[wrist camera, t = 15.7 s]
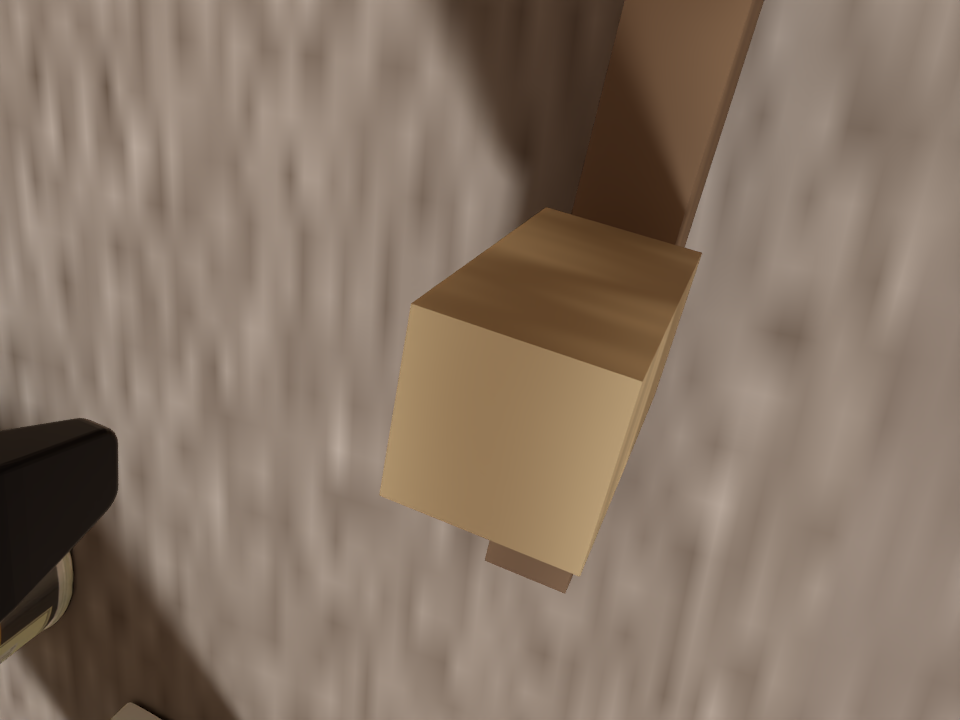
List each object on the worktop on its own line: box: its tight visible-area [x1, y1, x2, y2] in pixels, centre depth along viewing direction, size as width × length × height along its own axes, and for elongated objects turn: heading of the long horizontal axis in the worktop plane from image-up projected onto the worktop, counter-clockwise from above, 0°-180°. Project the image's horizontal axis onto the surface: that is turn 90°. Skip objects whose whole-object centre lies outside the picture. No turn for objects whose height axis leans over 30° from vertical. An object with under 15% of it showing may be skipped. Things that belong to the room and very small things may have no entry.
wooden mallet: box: [380, 0, 764, 593], centre depth 15 cm, size 3×14×10 cm, turn 169°
